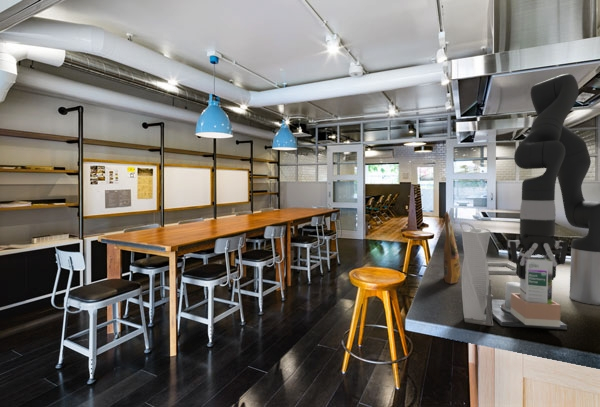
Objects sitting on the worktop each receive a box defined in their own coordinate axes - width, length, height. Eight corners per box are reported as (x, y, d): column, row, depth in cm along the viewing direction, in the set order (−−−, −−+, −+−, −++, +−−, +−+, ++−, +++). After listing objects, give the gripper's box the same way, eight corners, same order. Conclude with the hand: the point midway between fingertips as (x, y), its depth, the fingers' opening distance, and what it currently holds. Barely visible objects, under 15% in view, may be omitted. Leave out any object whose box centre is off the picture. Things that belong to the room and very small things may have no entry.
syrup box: (525, 313, 84) (527, 259, 83) (518, 305, 89) (520, 254, 89) (551, 316, 82) (553, 260, 81) (543, 307, 87) (545, 255, 87)
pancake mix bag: (438, 283, 125) (439, 213, 124) (444, 272, 141) (445, 210, 140) (457, 286, 122) (458, 213, 120) (461, 274, 138) (462, 210, 136)
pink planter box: (497, 302, 98) (498, 281, 98) (526, 303, 97) (526, 282, 96) (525, 324, 82) (526, 299, 82) (559, 326, 81) (560, 301, 81)
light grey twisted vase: (459, 321, 90) (460, 224, 89) (457, 310, 98) (459, 221, 96) (493, 326, 87) (495, 225, 85) (489, 315, 94) (491, 222, 93)
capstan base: (529, 304, 102) (529, 298, 102) (566, 329, 84) (567, 322, 84) (476, 302, 105) (476, 296, 105) (501, 325, 87) (501, 318, 87)
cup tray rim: (507, 265, 152) (508, 262, 152) (525, 275, 136) (525, 271, 136) (472, 264, 154) (472, 261, 154) (485, 273, 138) (485, 270, 138)
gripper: (558, 215, 87) (556, 276, 88) (501, 215, 89) (499, 274, 90) (577, 218, 79) (575, 284, 80) (514, 218, 82) (513, 282, 83)
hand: (535, 278), depth 85 cm, fingers closed on syrup box, 6 cm apart
